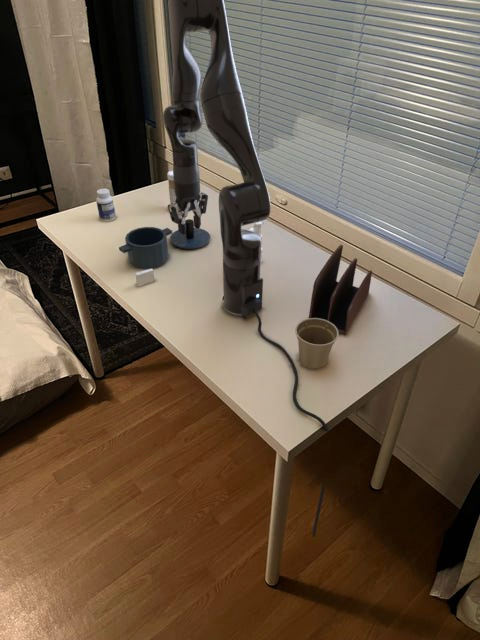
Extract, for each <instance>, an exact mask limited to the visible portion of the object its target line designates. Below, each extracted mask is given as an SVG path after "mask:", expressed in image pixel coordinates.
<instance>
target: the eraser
mask: <svg viewBox="0 0 480 640" xmlns="http://www.w3.org/2000/svg"><path fill="white" fill-rule="evenodd" d="M134 276H135V281H136V286H137V287H141V286H145V285H147V284H151V283H154V282H155V272H154V268H153V269H152V268H151V269H143V270H142V271H138V272H135V275H134Z"/></svg>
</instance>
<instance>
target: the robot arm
mask: <svg viewBox="0 0 480 640" xmlns="http://www.w3.org/2000/svg"><path fill="white" fill-rule="evenodd" d="M168 22H169V38H170V47H171V58H172V59H171V60H172V78H171V79H172V81H171V92H170V93H171V95H170V96H171V100H172V102H173V104H174V105H169V106H167V107H166V108H165V109H163V113H162V121H163V122H162V123H163V125H164V128H165V131H166V133H167V136H168V139H169V142H170V147H171V153H172V165H173V166H172V171H173V177H174V189H175V195H176V201H175V203H174V204H172V205H171V204H170V203H169V204H168V205H167V210H168V213H169V217H170V219H171V222H173V223H175V224H176V225H177V230H178V231H179V232H180V233H181V234H183V235H184V234H186V230H185V220H186V218H187V217H188V214H189V213H190V212H191V211H192V213H193V222H194V228H197V229H198V228H200V229H201V226H202V219H201V218H202V215H204V214H206V212H207V208H208V199H209V195H208V194H207V193H204V192H201V177H200V166H199V157H198V154H199V153H198V145H197V143H196V142H195V141H194V140H192V139H187V138H181V137H180V134H187V133H188V134H189V133H195V132H198V131H199V130H200V129H201V128H202V126H203V123H204V121H205V124H206V127H207V130H208V132H209V133H210V134H211V136H212V137H213V138H214V139H215V140H216V141H217V143H218V144H219V145H220V146H221V147H222V148H223V149H224V150H225V151H226V152H227V153H228V154H229V155H230V156H231V158H232V159H233V160H234V162H235V163H236V166H237V167H238V170H239V172H240V174H241V177H242V180H243V182H240V183H235V184H230V185H226V186H223V187H222V188H221V189H220V191H219V194H218V214H219V225H220V238H221V242H222V282H223V283H222V285H223V286H222V287H223V289H222V290H223V291H222V292H223V296H222V302H223V309H224V311H225V312H226V313H227V314H229V315H231V316H232V317H236V318H237V317H239V318H243V319H248V318H250V317H251V316H253V315H255V317H256V319H257V322H258V325H257V332H258V334H259V336H260V337H261V338H262V339H263V340H265V341H266V342H268V343H269V344H271V345H273V346H275V347H276V348H278V349H280V350H281V351H282V353H283V354H284V356H285V357H286V358H287V360H288V362H289V363H290V366H291V368H292V370H293V371H292V372H293V374H294V385H293V391H292V400H293V404H294V406H295V408H296V409H297V410H298V411H299V412H301V413H303V414H305V415H307V416H308V417H310V418H313V419H314V420H317V421H318V422H319V423H320V425H322V427H323V429H324V431H325V432H329V428H328V426H327V424H326V422H325V421H324V420H323V419H322V418H321V417H319V416H318V415H316V414H315V413H313V412H311V411H308V410H306V409H304V408H303V407H302V406H301V405H300V404H299V402H298V399H297V391H298V386H299V373H298V371H297V368H296V365H295V362H294V360H293V359H292V357H291V356H290V354H289V352H287V350H286V349H285V348H284V347H283V346H282V345H281V344H279V343H277V342H276V341H273V340H271V339H269V338H268V337H266V336H265V335H264V333H263V332H262V319H261V316H260V314H259V313H258V312H260V311H261V310H262V309H263V295H264V294H263V293H264V292H263V290H264V278H262V276H261V267H262V265H261V264H262V262H261V260H262V253H261V246H262V240H261V238H260V237H259V236H258V235H257V234H256V233H254V232H252V231H249V230H248V229H244V228H242V227H243V226H247V225H252V224H255V223H256V222H261V221H264V222H265V221H266V220H267V219H268V218H269V217H270V215H271V208H272V206H271V205H272V204H271V198H270V193H269V190H268V186H267V183H266V179H265V177H264V174H263V171H262V167H261V165H260V161H259V158H258V155H257V151H256V148H255V144H254V140H253V136H252V131H251V127H250V123H249V122H250V121H249V117H248V113H247V112H248V111H247V108H246V103H245V99H244V94H243V91H242V87H241V84H240V80H239V76H238V72H237V67H236V63H235V58H234V54H233V48H232V44H231V43H232V42H231V37H230V31H229V24H228V18H227V11H226V5H225V0H168ZM207 31H208V33H209V37H210V45H211V52H210V57H209V62H208V65H207V69H206V71H205V75H204V78H203V81H202V72H201V69H200V66H199V64H198V62H197V60H196V58H195V57H194V55H193V53H192V51H191V50H190V48H189V46H188V44H187V43H188V42H187V34H188V33H198V32H207ZM201 107H202V110H201ZM202 113H203V114H202ZM203 116H204V119H203ZM177 207H178V210H177ZM325 490H326V484H324V483H321V489H320V494H319V499H318V504H317V509H316V513H315V519H314V524H313V528H312V535H311V536H312V537H313V538H315V537H316V534H317V528H318V523H319V518H320V514H321V509H322V505H323V500H324V495H325Z"/></svg>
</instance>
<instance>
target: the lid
mask: <svg viewBox="0 0 480 640" xmlns="http://www.w3.org/2000/svg"><path fill="white" fill-rule="evenodd" d="M185 230H186V234H184V235H183V234H181V233H180V232H179V231H178V229H177V230H175V231H173V232H172V234H170V236H169V241H170V243H171V244H172V245H173V246H174V247H177V248H180V249H185V250H193V249H199V248H203V247H204V246H206V245H208V244H209V242H210V241H211V234H210V233H209V232H208V230H206V229H203V228H201V227H200V228H198V229H197V228H195V227H194V219H191V218H189V219H185Z"/></svg>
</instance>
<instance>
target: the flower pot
mask: <svg viewBox="0 0 480 640" xmlns="http://www.w3.org/2000/svg"><path fill="white" fill-rule="evenodd" d="M294 332H295V335H296V338H297V342H298V343H297V344H298V360H299V362H300V363H301V364H302V366H303V367H306V368H308V369H312V370H317V369H319V368H323V367H324V366H325V365H326V364H327V362H328V358H329V356H330V352H331V350H332V348H333V346H334V344H335V343H336V341H338V338H339V334H340V333H339V332H338V329H337V328H336V326H335V325H333V324H332V323H331V322H329V321H327V320H324V319H319V318H309V317H308V318H305V319H303V320H301V321H299V322H298V323H297V324H296V325H295V329H294Z"/></svg>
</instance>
